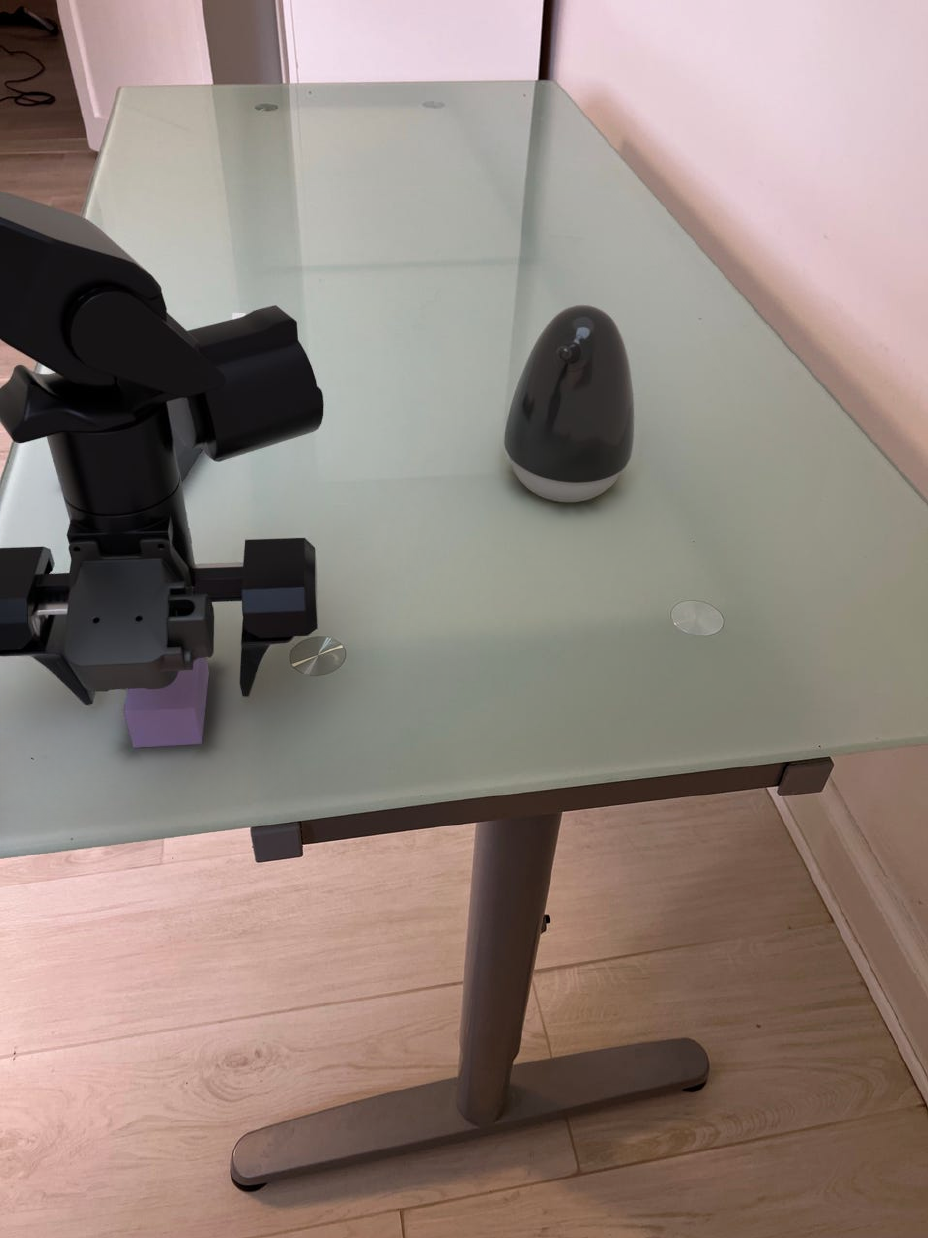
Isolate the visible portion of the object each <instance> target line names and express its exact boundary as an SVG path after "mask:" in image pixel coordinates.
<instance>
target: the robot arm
mask: <svg viewBox="0 0 928 1238" xmlns="http://www.w3.org/2000/svg"><path fill="white" fill-rule="evenodd" d="M165 301H166V300H165V298H164V295H163V292H162V287H161V285H160V284H159V282H158V281H157V280H156V278H155V277H154V276H153V275H152V274H151V273H150V272H149V271H148V270H147V269H145V268H144V267H143V266H142V265H141V263H139V262H138V261H136V260H135V259H134V258H133V256H131V255H130V254H129V253H128V252H127V251H126V250H124V249H123V248H122V247H121V246H120V245H119V244H118V243H116V242H115V241H114V240H113V239H112V238H111V237H110V236H108V234H106V233H105V231H103V230H102V229H101V228H99V227H98V226H97V225H96V224H94V223H93V222H92V221H90V220H89V219H87V218H85V217H83V216H81V215H79V214H77V213H73V212H71V211H67V210H64V209H61V208H58V207H55V206H51V205H48V204H45V203H42V202H39V201H35V200H32V199H29V198H25V197H23V196H19V195H16V194H14V193H9V192H5V191H0V341H2V342H3V343H5V344H6V345H8V347H11V348H13V349H14V350H16V351H18V352H20V353H21V354H23V355H25V356H26V357H28V358H30V359H31V360H33V361H35V362H36V363H38V364H40V365H41V366H43V367H45V368H47V369H48V370H50V371H51V373H39V372H35V371H33V370H31V369H29V368H28V367H27V366H25V365H24V364H18V365H15V366H14V367H13V371H12V374H11V376H10V378H9V379H8V381H7V382H5V383H4V384H3V385H2V386H0V424H1V425H2V427H3V428H4V430H5V431H6V433H7V434H8V435H9V437H10V438H11V440H12V441H13V442H14V443H16V444H26V443H29V442H33V441H36V440H39V439H43V438H46V439H47V444H48V447H49V451H50V454H51V458H52V462H53V465H54V468H55V472H56V476H57V480H58V484H59V488H60V490H61V494H62V497H63V501H64V504H65V508H66V512H67V517H68V521H69V524H68V528H67V532H66V539H67V541H68V553H69V556H70V566H69V571H68V572H57V573H56V572H55V573H52V572H53V571H54V567H55V564H56V563H55V560H54V557H53V554H52V550H51V548H49V547H45V546H21V547H19V546H18V547H17V546H16V547H14V546H13V547H0V657H31V658H32V659H34V660H35V661H36V662H37V663H40V664H41V665H42V666H43V667H45V668H46V669H47V670H49V672H51V673H52V674H53V676H55V677H56V678H57V679H58V680H59V681H60V682H61V683H62V684H63V685H64V686H65V687H66V688H67V689H68V690H69V691H71V693H73V695H75V696H76V697H77V699H79V700H80V701H81V703H83V704H84V705H86V706H92V705H94V702H95V698H96V693H106V692H109V691H116V690H117V691H118V690H128V689H137V688H145V689H161V688H164V687H167V686H169V685H170V684H171V683H173V681H174V680H175V679H176V677H177V675H178V671H183V670H193V663H194V661H195V660H196V659H198V658H206V659H208V658H209V659H210V658H212V656H213V655H214V649H215V610H214V609H215V608H214V605H213V603H222V602H225V603H227V602H241V615H242V620H241V621H242V622H241V635H240V663H239V664H240V665H239V687H240V693H241V697H243V698H247V697H250V695H251V692H252V689H253V685H254V682H255V679H256V677H257V675H258V671H259V668H260V666H261V663H262V660H263V658H264V657H265V655H266V652H267V651H268V649H269V647H270V646H272V645H285V644H288V643H289V644H290V642H292V641H293V640H294V638H295V637H308V636H310V635H311V634H312V633H314V632H316V631H317V630H318V628H319V625H318V624H319V623H318V621H319V619H318V618H319V617H318V616H319V615H318V614H319V613H318V567H317V552H316V551H317V550H316V547H315V546H314V545H313V544H312V543H311V542H310V541H309V540H308V539H307V538H306V537H286V538H285V537H284V538H258V539H257V538H256V539H255V538H253V539H244V547H243V561H242V562H241V561H240V562H239V561H236V562H212V563H210V562H209V563H196V560H195V555H194V549H193V540H192V535H191V529H190V526H189V521H188V515H187V508H186V504H185V503H186V502H185V498H184V491H183V487H182V483H183V481H182V482H181V476H180V470H179V467H178V463H177V458H176V452H175V446H174V441H173V435H172V429H171V423H170V419H171V421H172V424H173V426H174V428H175V430H176V432H177V434H178V436H179V437H180V439H181V441H182V442H183V443H184V444H185V445H186V446H187V447H188V448H190V449H194V448H197V447H200V446H201V448H202V449H203V450H202V451H203V452H204V454H205V455H206V456H207V457H208V458H209V459H210V460H212V461H214V462H218V463H220V462H223V461H226V460H230V459H232V458H236V457H239V456H243V455H245V454H249V453H251V452H254V451H258V450H262V449H265V448H267V447H271V446H274V445H276V444H279V443H283V442H287V441H289V440H292V439H293V440H294V439H296V438H299V437H303V436H305V435H309V434H313V433H314V432H316V431H318V430H319V428H320V427H321V425H322V423H323V418H324V405H325V404H324V395H323V391H322V389H321V388H320V387H319V386H318V383H317V379H316V376H315V372H314V369H313V366H312V364H311V361H310V358H309V357H308V355H307V352H306V350H305V349H304V347H303V345H302V344H301V342H300V341H299V332H298V321H296V319H294V318H293V317H292V316H290V315H289V314H288V313H287V312H285V311H284V310H283V309H281V308H280V306H278V305H276V304H274V305H269V306H266V307H262V308H259V309H256V310H253V311H251V312H248V313H246V315H245V316H243V317H240V318H237V319H233V320H232V319H229V320H225V321H220V322H217V323H212V324H209V325H204V326H201V327H196V328H192V329H188V330H187V329H186V328H184V326H183V325H181V324H180V323H179V322H178V320H176V319H175V318H174V317H173V316H171V315H170V314H169V312H168V308H167V305H166V302H165ZM52 372H53V373H52ZM169 416H170V418H169Z"/></svg>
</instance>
